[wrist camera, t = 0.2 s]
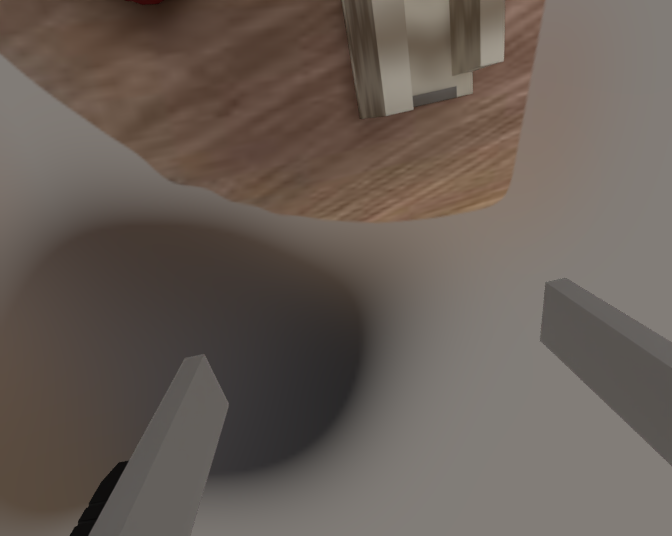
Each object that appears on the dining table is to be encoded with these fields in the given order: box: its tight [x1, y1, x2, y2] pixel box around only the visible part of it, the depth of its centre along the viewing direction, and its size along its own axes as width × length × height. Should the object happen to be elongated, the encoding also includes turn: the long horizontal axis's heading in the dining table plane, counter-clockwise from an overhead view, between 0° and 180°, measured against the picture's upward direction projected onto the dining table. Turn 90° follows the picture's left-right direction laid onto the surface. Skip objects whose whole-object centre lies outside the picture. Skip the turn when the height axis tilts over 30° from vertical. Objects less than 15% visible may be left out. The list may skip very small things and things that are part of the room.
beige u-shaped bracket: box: [341, 0, 505, 119], centre depth 25 cm, size 12×12×13 cm
